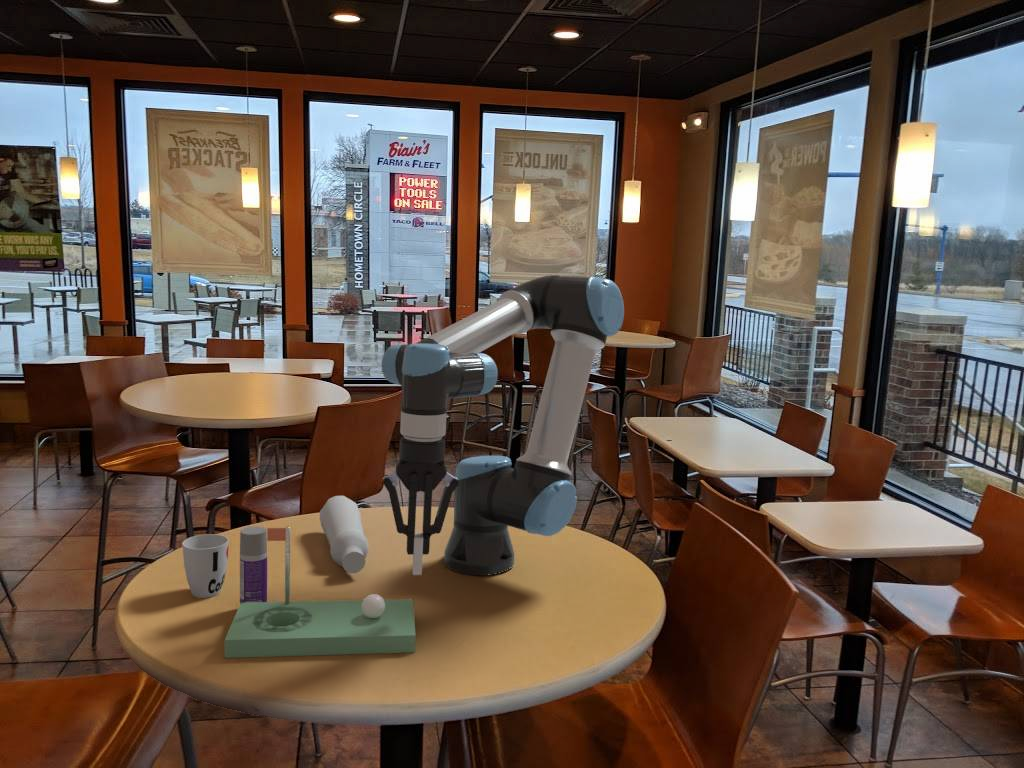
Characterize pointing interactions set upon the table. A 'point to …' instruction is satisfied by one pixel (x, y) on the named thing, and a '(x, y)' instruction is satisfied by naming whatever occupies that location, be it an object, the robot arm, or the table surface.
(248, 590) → the container
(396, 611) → the green
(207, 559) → the cup
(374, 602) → the ball
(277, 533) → the flag pin
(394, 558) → the table surface
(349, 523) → the bottle
